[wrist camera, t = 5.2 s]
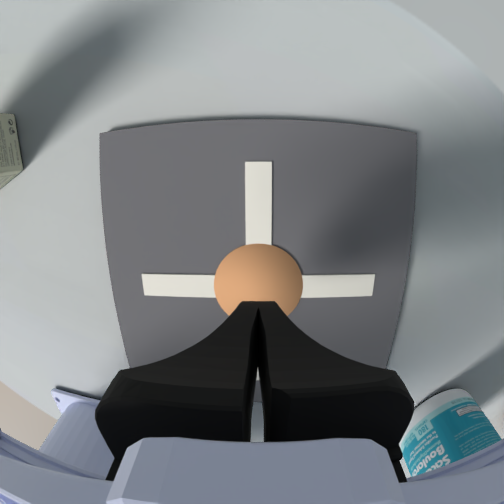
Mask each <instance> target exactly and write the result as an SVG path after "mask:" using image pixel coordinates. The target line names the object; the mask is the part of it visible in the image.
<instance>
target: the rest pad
mask: <svg viewBox="0 0 504 504" xmlns="http://www.w3.org/2000/svg"><path fill="white" fill-rule="evenodd" d="M416 167H417V136H416V133H413V132H407V131H401V130H395V129H389V128H382V127H374V126H366V125H357V124H348V123H337V122H324V121H308V120H283V119H235V120H210V121H194V122H181V123H170V124H160V125H152V126H143V127H136V128H129V129H122V130H116V131H110V132H104V133H100V182H101V200H102V213H103V224H104V234H105V243H106V251H107V258H108V265H109V272H110V278H111V284H112V290H113V296H114V301H115V306H116V311H117V316H118V321H119V325H120V330H121V334H122V338H123V343H124V347H125V351H126V355H127V358H128V362H129V366H130V368H134V367H138V366H142V365H147V364H150V363H154V362H157V361H160V360H163V359H165V358H168V357H170V356H173V355H175V354H177V353H179V352H181V351H183V350H185V349H187V348H189V347H191V346H193V345H195V344H197V343H198V342H200V341H201V340H203V339H204V338H206V337H207V336H208V335H210V334H211V333H212V332H213V331H214V330H215V329H217V328H218V327H219V326H220V325H221V324H222V323H223V322H224V321H225V320H226V319H227V318H228V317H229V316H230V314H231V313H232V312H233V311H234V310H235V309H236V307H237V306H238V305H239V303H240V302H242V301H275V302H276V303H277V304H278V305H279V307H280V308H281V309H282V310H283V312H284V313H285V314H286V315H287V316H288V318H289V319H290V320H291V321H292V322H293V323H294V324H295V325H296V326H297V327H298V328H299V329H301V330H302V331H303V332H304V333H305V334H306V335H308V336H309V337H310V338H312V339H313V340H315V341H316V342H318V343H319V344H321V345H322V346H324V347H326V348H328V349H330V350H332V351H334V352H336V353H338V354H340V355H342V356H344V357H347V358H349V359H352V360H355V361H357V362H360V363H363V364H366V365H370V366H374V367H379V368H383V369H386V366H387V362H388V358H389V355H390V351H391V347H392V343H393V339H394V335H395V331H396V327H397V322H398V318H399V313H400V308H401V303H402V298H403V293H404V288H405V282H406V276H407V270H408V263H409V256H410V248H411V240H412V231H413V221H414V209H415V193H416ZM253 402H262V397H261V389H260V381H259V372H258V371H257V378H256V386H255V393H254V400H253Z"/></svg>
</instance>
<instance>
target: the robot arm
mask: <svg viewBox="0 0 504 504" xmlns="http://www.w3.org/2000/svg"><path fill="white" fill-rule="evenodd" d="M257 371H258V372H259V381H260V389H261V397H262V406H263V416H264V442H250V439H251V416H252V407H253V400H254V393H255V386H256V378H257ZM51 394H52V396H53V398H54V400H55V402H56V404H57V406H58V408H59V410H60V412H61V414H62V415H61V417H60V418H59V420H58V421H57V423H56V424H55V426H54V427H53V429H52V430H51V432H50V433H49V435H48V436H47V438H46V439H45V441H44V442H43V444H42V446H41V447H40V449H39V450H36V449H34V448H32V447H29V446H28V445H26V444H24V443H22V442H20V441H18V440H16V439H14V438H12V437H10V436H9V435H7V434H5V433H3V432H2V431H1V429H0V504H504V439H502V440H500V441H498V442H497V443H495V444H493V445H491V446H489V447H487V448H485V449H483V450H480V451H478V452H476V453H474V454H472V455H470V456H467V457H465V458H463V459H460V460H458V461H455V462H453V463H450V464H448V465H445V466H443V467H440V468H437V469H434V470H431V471H429V472H426V473H423V474H419V475H416V476H413V477H410V478H406V477H405V474H404V471H403V469H402V466H401V464H400V461H399V460H401V459H402V457H403V453H402V451H401V448H400V446H399V443H400V441H401V439H402V437H403V435H404V433H405V431H406V430H407V428H408V426H409V423H410V421H411V419H412V416H413V413H414V401H413V399H412V397H411V396H410V394H409V392H408V390H407V388H406V386H405V384H404V383H403V381H402V380H401V378H400V377H399V376H398V374H397V373H396V371H392V370H388V369H383V368H379V367H374V366H370V365H366V364H363V363H360V362H357V361H355V360H352V359H349V358H347V357H344V356H342V355H340V354H338V353H336V352H334V351H332V350H330V349H328V348H326V347H324V346H322V345H321V344H319V343H318V342H316V341H315V340H313V339H312V338H310V337H309V336H308V335H306V334H305V333H304V332H303V331H302V330H301V329H299V328H298V327H297V326H296V325H295V324H294V323H293V322H292V321H291V320H290V319H289V318H288V316H287V315H286V314H285V313H284V312H283V310H282V309H281V308H280V307H279V305H278V304H277V303H276V302H275V301H242V302H240V303H239V305H238V306H237V307H236V309H235V310H234V311H233V312H232V313H231V314H230V316H229V317H228V318H227V319H226V320H225V321H224V322H223V323H222V324H221V325H220V326H219V327H218V328H217V329H215V330H214V331H213V332H212V333H211V334H210V335H208V336H207V337H206V338H204V339H203V340H201V341H200V342H198V343H197V344H195V345H193V346H191V347H189V348H187V349H185V350H183V351H181V352H179V353H177V354H175V355H173V356H170V357H168V358H165V359H163V360H160V361H157V362H154V363H150V364H147V365H142V366H138V367H134V368H129V369H124V370H120V371H119V372H118V374H117V375H116V376H115V378H114V379H113V380H112V382H111V384H110V385H109V387H108V389H107V390H106V392H105V394H104V395H103V397H102V399H101V400H96V399H92V398H88V397H84V396H80V395H76V394H73V393H69V392H65V391H62V390H59V389H55V388H53V389H52V391H51Z"/></svg>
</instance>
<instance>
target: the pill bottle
mask: <svg viewBox="0 0 504 504" xmlns="http://www.w3.org/2000/svg"><path fill="white" fill-rule="evenodd" d="M500 440H502V439H501V438H500V436H499V435H498V433H497V432H496V430H495V429H494V427H493V426H492V424H491V423H490V421H489V420H488V418H487V417H486V416H485V414H484V413H483V411H482V410H481V409H480V407H479V406H478V404H477V403H476V402H475V400H474V399H473V398H472V396H471V395H470V394H469V393H468V392H467V391H465V390H463V389H450V390H447V391H444V392H441V393H439V394H437V395H435V396H433V397H431V398H429V399H428V400H426V401H425V402H423V403H422V404H421V405H419V406H418V407H417V408H416V409H415V410H414V413H413V416H412V419H411V421H410V423H409V426H408V428H407V430H406V431H405V433H404V435H403V437H402V439H401V441H400V443H399V446H400V448H401V451H402V453H403V457H404V459H405V462H406V464H407V467H408V469H409V472H410V474H411V477H413V476H416V475H419V474H423V473H426V472H429V471H431V470H434V469H437V468H440V467H443V466H445V465H448V464H450V463H453V462H455V461H458V460H460V459H463V458H465V457H467V456H470V455H472V454H474V453H476V452H478V451H480V450H483V449H485V448H487V447H489V446H491V445H493V444H495V443H497V442H498V441H500Z"/></svg>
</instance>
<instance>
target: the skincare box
mask: <svg viewBox="0 0 504 504" xmlns="http://www.w3.org/2000/svg"><path fill="white" fill-rule="evenodd" d="M22 170H23V166H22V160H21V155H20V149H19V142H18V136H17V130H16V123H15V117H14V114H5V113H0V189H1V188H2V187H3V186H4V185H6V184H7V183H8V182H9V181H10V180H11V179H13V178H14V177H15V176H16V175H17V174H19V173H20V172H21V171H22Z"/></svg>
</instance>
